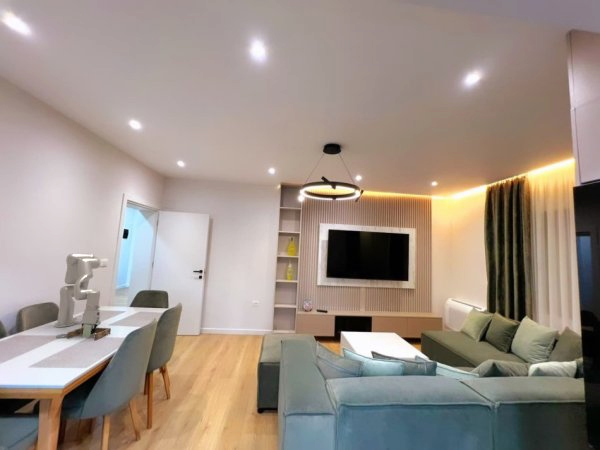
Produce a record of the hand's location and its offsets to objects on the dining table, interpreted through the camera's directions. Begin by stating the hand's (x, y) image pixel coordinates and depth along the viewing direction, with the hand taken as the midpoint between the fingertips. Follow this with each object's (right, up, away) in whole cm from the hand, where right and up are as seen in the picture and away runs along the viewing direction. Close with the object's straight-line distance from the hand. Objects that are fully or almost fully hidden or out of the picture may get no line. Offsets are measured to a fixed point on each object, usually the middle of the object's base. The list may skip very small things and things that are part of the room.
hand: (89, 332), depth 201 cm
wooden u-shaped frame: (0, -2, 0) cm, 2 cm away
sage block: (0, -2, 0) cm, 3 cm away
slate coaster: (-16, -1, -3) cm, 16 cm away
